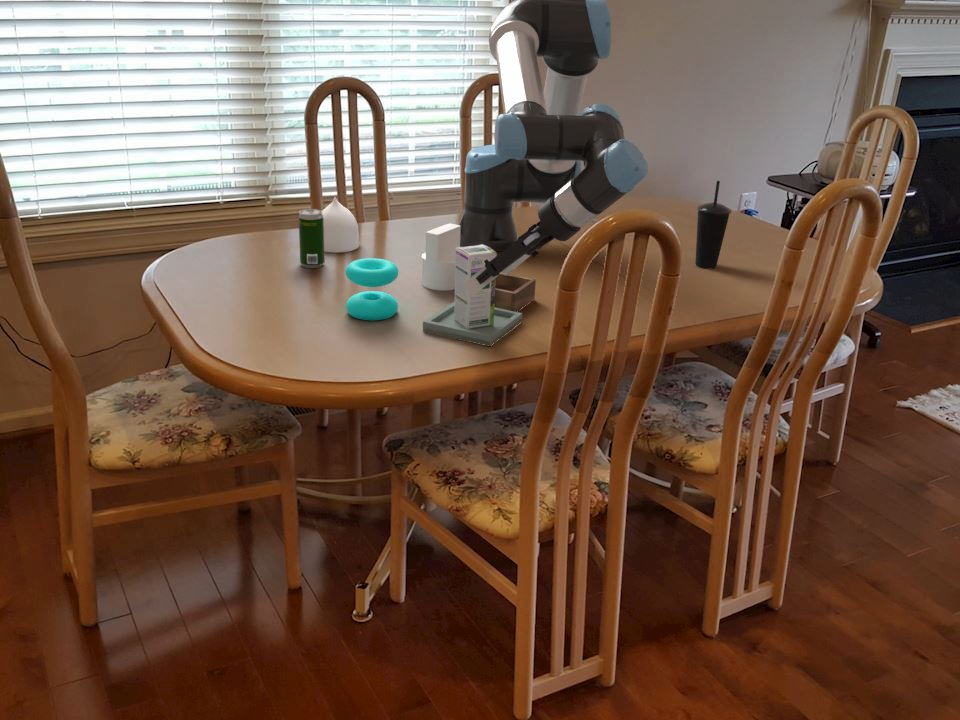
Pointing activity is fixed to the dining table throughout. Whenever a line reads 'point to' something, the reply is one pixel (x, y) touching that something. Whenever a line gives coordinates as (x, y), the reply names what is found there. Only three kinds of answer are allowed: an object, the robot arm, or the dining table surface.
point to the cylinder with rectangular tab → (440, 257)
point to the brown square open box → (513, 292)
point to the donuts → (372, 302)
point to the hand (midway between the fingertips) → (485, 279)
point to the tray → (486, 335)
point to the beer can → (311, 238)
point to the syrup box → (469, 307)
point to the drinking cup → (710, 231)
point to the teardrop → (339, 229)
